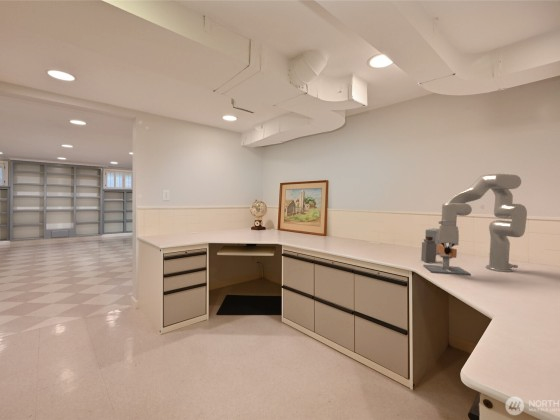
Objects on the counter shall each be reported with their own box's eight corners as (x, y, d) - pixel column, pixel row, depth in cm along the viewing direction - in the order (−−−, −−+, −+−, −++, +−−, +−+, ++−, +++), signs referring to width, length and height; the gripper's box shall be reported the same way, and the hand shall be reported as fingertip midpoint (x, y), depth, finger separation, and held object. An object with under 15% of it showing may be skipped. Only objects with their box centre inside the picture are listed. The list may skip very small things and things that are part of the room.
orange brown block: (433, 254, 169) (434, 244, 169) (443, 254, 169) (444, 244, 169) (448, 260, 153) (449, 249, 153) (459, 260, 153) (460, 249, 153)
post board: (458, 268, 167) (459, 256, 167) (470, 275, 152) (471, 262, 151) (423, 266, 172) (423, 254, 171) (431, 272, 156) (432, 259, 156)
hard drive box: (431, 251, 222) (432, 228, 221) (441, 252, 216) (442, 229, 215) (424, 253, 212) (425, 229, 211) (434, 255, 206) (435, 230, 205)
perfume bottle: (431, 260, 187) (432, 236, 186) (435, 263, 181) (436, 237, 180) (421, 260, 188) (422, 235, 187) (425, 262, 181) (426, 237, 180)
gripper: (434, 223, 154) (433, 254, 155) (465, 225, 147) (463, 256, 148) (433, 222, 161) (432, 251, 161) (462, 224, 154) (461, 254, 155)
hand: (447, 254), depth 155 cm, fingers closed
